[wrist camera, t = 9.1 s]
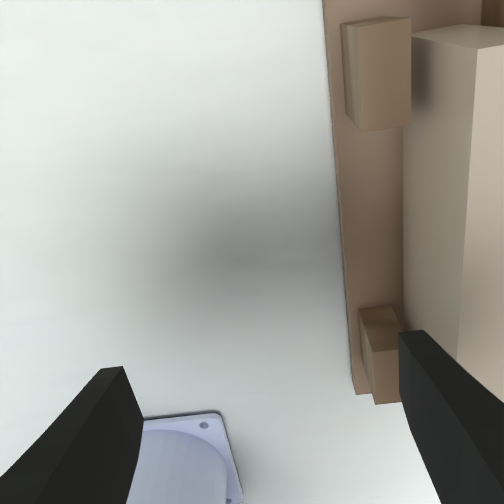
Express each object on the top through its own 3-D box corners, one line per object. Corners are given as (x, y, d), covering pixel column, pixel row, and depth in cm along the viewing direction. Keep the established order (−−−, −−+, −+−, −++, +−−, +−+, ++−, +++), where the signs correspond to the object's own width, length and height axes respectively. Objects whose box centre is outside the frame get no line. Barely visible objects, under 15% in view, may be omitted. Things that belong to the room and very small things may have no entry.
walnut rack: (352, 380, 24) (368, 443, 21) (317, -58, 15) (336, -77, 12) (485, 365, 24) (524, 427, 20) (535, -102, 14) (625, -136, 11)
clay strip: (403, 347, 22) (449, 455, 17) (402, 34, 15) (477, 49, 10) (445, 342, 22) (505, 449, 17) (462, 23, 15) (569, 33, 10)
